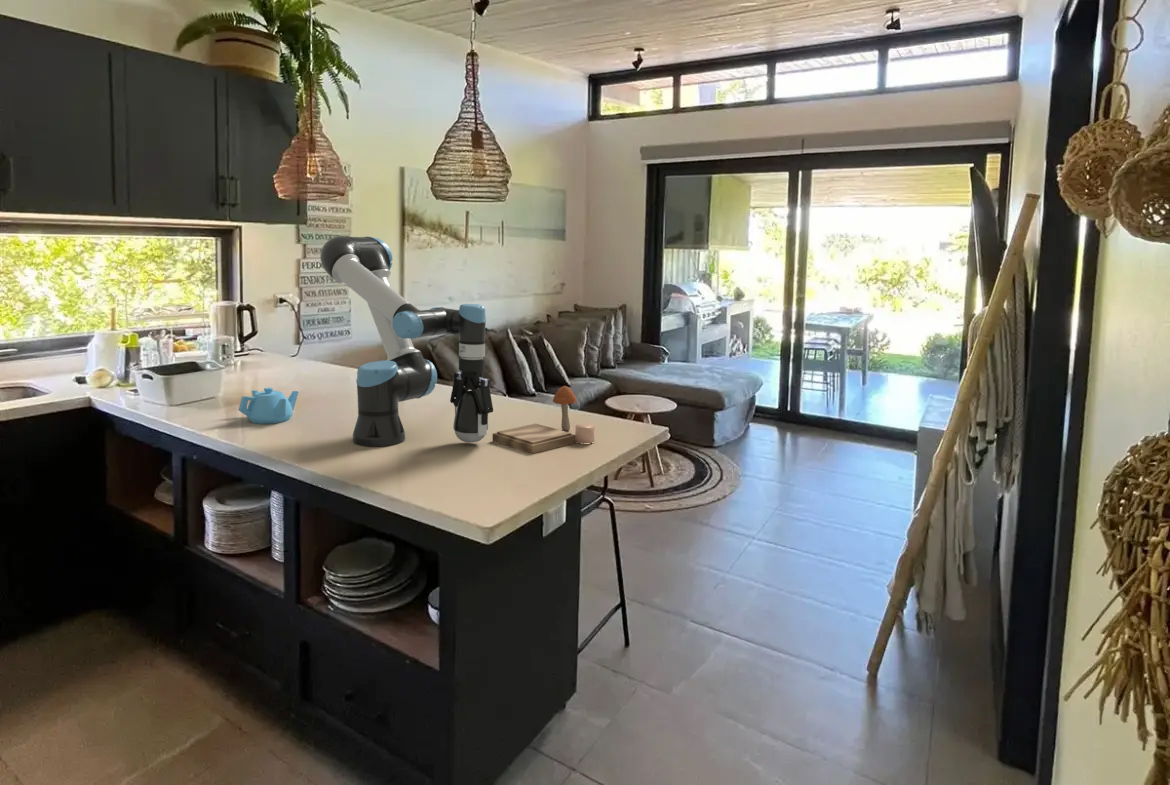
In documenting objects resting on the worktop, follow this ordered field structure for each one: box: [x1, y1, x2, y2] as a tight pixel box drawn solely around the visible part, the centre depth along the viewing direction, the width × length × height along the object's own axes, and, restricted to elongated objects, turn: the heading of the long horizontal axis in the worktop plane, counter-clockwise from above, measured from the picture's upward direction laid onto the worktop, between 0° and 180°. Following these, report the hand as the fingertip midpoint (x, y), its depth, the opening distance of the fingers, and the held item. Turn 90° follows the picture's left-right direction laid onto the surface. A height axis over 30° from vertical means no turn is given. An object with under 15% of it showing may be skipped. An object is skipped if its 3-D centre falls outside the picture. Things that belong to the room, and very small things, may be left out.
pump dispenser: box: [452, 390, 489, 443], centre depth 214 cm, size 10×10×15 cm
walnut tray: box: [491, 423, 576, 454], centre depth 220 cm, size 18×18×3 cm
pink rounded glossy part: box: [574, 423, 596, 444], centre depth 222 cm, size 6×6×5 cm
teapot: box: [238, 386, 300, 425], centre depth 237 cm, size 15×15×11 cm
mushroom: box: [552, 385, 578, 432], centre depth 233 cm, size 8×8×15 cm
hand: (470, 430), depth 215 cm, fingers closed on pump dispenser, 10 cm apart
